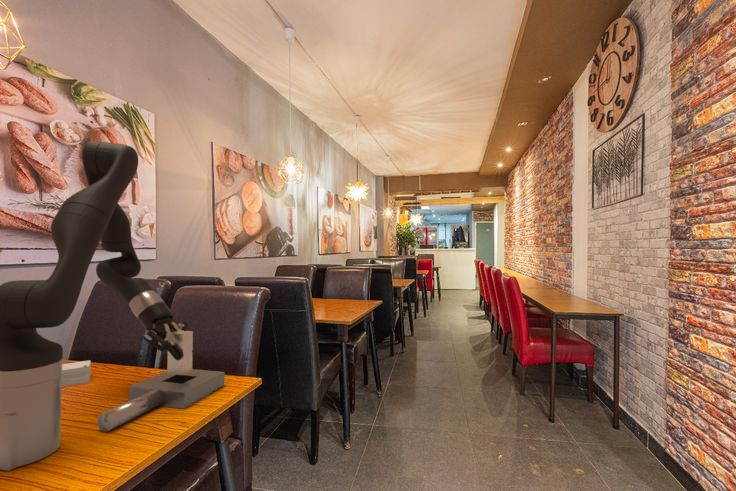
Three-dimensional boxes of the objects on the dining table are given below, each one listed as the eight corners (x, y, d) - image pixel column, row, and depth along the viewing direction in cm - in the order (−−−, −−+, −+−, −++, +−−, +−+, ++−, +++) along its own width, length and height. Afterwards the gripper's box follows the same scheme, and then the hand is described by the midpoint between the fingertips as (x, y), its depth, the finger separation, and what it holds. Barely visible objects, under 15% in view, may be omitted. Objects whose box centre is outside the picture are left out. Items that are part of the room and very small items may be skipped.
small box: (57, 381, 103) (58, 364, 103) (91, 375, 108) (91, 359, 108) (54, 389, 97) (54, 371, 97) (89, 383, 102) (90, 365, 102)
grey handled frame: (136, 436, 71) (136, 417, 71) (74, 427, 75) (74, 409, 75) (224, 385, 99) (224, 371, 99) (175, 380, 103) (175, 367, 103)
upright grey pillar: (182, 375, 91) (183, 334, 92) (167, 373, 92) (167, 333, 93) (192, 370, 95) (192, 331, 95) (177, 369, 96) (177, 330, 96)
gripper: (136, 304, 89) (174, 354, 86) (178, 297, 103) (212, 340, 99) (120, 323, 90) (156, 373, 87) (163, 314, 104) (196, 357, 101)
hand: (186, 355), depth 93 cm, fingers closed on upright grey pillar, 3 cm apart
